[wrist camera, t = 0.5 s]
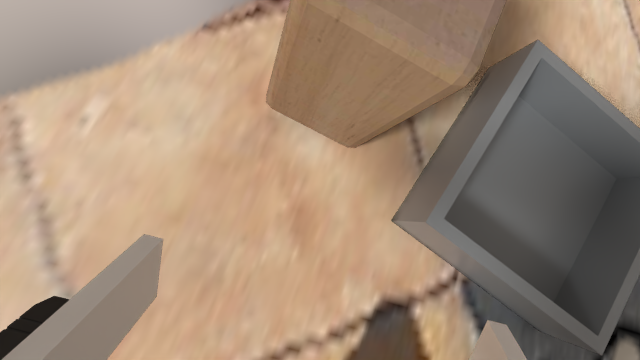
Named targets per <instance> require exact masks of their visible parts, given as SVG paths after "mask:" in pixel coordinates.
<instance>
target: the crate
mask: <svg viewBox="0 0 640 360" xmlns="http://www.w3.org/2000/svg"><path fill="white" fill-rule="evenodd" d="M391 221H392V222H394V223H395V224H396V225H398V226H399V227H400V228H402V229H403V230H404V231H406V232H407V233H408V234H410V235H411V236H412V237H414V238H415V239H416V240H418V241H419V242H420V243H422V244H423V245H424V246H426V247H427V248H429V249H430V250H431V251H433V252H434V253H435V254H437V255H438V256H439V257H441V258H442V259H443V260H445V261H446V262H447V263H449V264H450V265H451V266H453V267H454V268H455V269H457V270H458V271H459V272H461V273H462V274H463V275H465V276H466V277H467V278H469V279H470V280H471V281H473V282H474V283H476V284H477V285H478V286H480V287H481V288H482V289H484V290H485V291H486V292H488V293H489V294H490V295H492V296H493V297H494V298H496V299H497V300H498V301H500V302H501V303H502V304H504V305H505V306H506V307H508V308H509V309H510V310H512V311H513V312H514V313H516V314H517V315H518V316H520V317H521V318H522V319H524V320H525V321H527V322H528V323H529V324H531V325H532V326H533V327H535V328H536V329H537V330H539V331H540V332H543V333H545V334H548V335H550V336H553V337H556V338H558V339H561V340H563V341H566V342H568V343H571V344H574V345H576V346H579V347H581V348H584V349H586V350H589V351H592V352H594V353H597V354H599V355H602V354H603V352H604V350H605V348H606V346H607V344H608V342H609V339H610V337H611V335H612V333H613V331H614V329H615V326H616V324H617V322H618V320H619V318H620V316H621V314H622V311H623V309H624V307H625V305H626V303H627V301H628V299H629V296H630V294H631V292H632V290H633V288H634V286H635V284H636V281H637V279H638V277H639V275H640V128H638V127H637V126H636V125H635V124H634V123H633V122H632V121H630V120H629V119H628V118H627V117H626V116H625V115H624V114H622V113H621V112H620V111H619V110H618V109H617V108H616V107H614V106H613V105H612V104H611V103H610V102H609V101H608V100H606V99H605V98H604V97H603V96H602V95H601V94H600V93H598V92H597V91H596V90H595V89H594V88H593V87H592V86H590V85H589V84H588V83H587V82H586V81H585V80H584V79H583V78H581V77H580V76H579V75H578V74H577V73H576V72H575V71H573V70H572V69H571V68H570V67H569V66H568V65H567V64H565V63H564V62H563V61H562V60H561V59H560V58H559V57H557V56H556V55H555V54H554V53H553V52H552V51H551V50H549V49H548V48H547V47H546V46H545V45H544V44H543V43H541V42H540V41H539V40H536V41H535V42H533V43H531V44H529V45H528V46H526V47H524V48H523V49H521V50H519V51H517V52H516V53H514V54H512V55H510V56H509V57H507V58H505V59H503V60H502V61H500V62H498V63H497V64H495V65H493V66H491V67H490V68H488V70H487V71H486V73H485V75H484V76H483V78H482V79H481V81H480V82H479V84H478V85H477V87H476V89H475V90H474V92H473V93H472V95H471V96H470V98H469V100H468V101H467V103H466V104H465V106H464V107H463V109H462V111H461V112H460V114H459V115H458V117H457V118H456V120H455V121H454V123H453V125H452V126H451V128H450V129H449V131H448V132H447V134H446V136H445V137H444V139H443V140H442V142H441V143H440V145H439V147H438V148H437V150H436V151H435V153H434V154H433V156H432V157H431V159H430V161H429V162H428V164H427V165H426V167H425V168H424V170H423V172H422V173H421V175H420V176H419V178H418V179H417V181H416V183H415V184H414V186H413V187H412V189H411V190H410V192H409V194H408V195H407V197H406V198H405V200H404V201H403V203H402V204H401V206H400V208H399V209H398V211H397V212H396V214H395V215H394V217H393V219H392V220H391Z"/></svg>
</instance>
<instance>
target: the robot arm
mask: <svg viewBox="0 0 640 360" xmlns="http://www.w3.org/2000/svg"><path fill="white" fill-rule="evenodd" d="M162 245H163V239H162V238H158V237H154V236H150V235H146V234H144V235H143V236H141V237H140V238H139V239H138V240H137V241H136V242H135V243H133V244H132V245H131V246H130V247H129V248H128V249H127V250H126V251H124V252H123V253H122V254H121V255H120V256H119V257H118V258H116V259H115V260H114V261H113V262H112V263H111V264H110V265H108V266H107V267H106V268H105V269H104V270H103V271H102V272H101V273H99V274H98V275H97V276H96V277H95V278H94V279H93V280H91V281H90V282H89V283H88V284H87V285H86V286H85V287H83V288H82V289H81V290H80V291H79V292H78V293H77V294H76V295H74V296H73V297H72V298H71V299H70V300H69V299H65V298H61V297H57V296H53V297H51V298H49V299H46V300H44V301H42V302H40V303H38V304H35V305H34V306H33V307H31V308H30V309H29V310H28V311H26V312H25V313H24V314H23V315H21V316H20V318H19V319H16V320H15V321H14V322H13V323H11V324H10V325H9V326H8V327H7V329H6V330H5V329H4V330H3V331H1V332H0V360H107V359H108V357H109V356H110V355H111V354H112V352H113V351H114V350H115V348H116V347H117V346H118V345H119V343H120V342H121V341H122V340H123V338H124V337H125V336H126V335H127V333H128V332H129V331H130V330H131V328H132V327H133V326H134V324H135V323H136V322H137V321H138V319H139V318H140V317H141V316H142V314H143V313H144V312H145V311H146V309H147V308H148V307H149V306H150V304H151V303H152V302H153V300H154V299H155V298H156V297H157V288H158V280H159V271H160V262H161V254H162ZM469 360H527V359H526V357H525V355H524V354H523V352H522V350H521V349H520V347H519V345H518V343H517V342H516V340H515V338H514V337H513V335H512V333H511V332H510V330H509V328H508V326H507V325H506V324H502V323H498V322H494V321H490V320H487V323H486V325H485V327H484V329H483V331H482V333H481V335H480V337H479V339H478V342H477V344H476V346H475V348H474V350H473V352H472V354H471V356H470V358H469Z"/></svg>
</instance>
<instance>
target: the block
mask: <svg viewBox="0 0 640 360" xmlns="http://www.w3.org/2000/svg"><path fill="white" fill-rule="evenodd" d="M505 3H506V0H290V4H289V7H288V11H287V15H286V19H285V23H284V27H283V31H282V35H281V39H280V43H279V47H278V51H277V55H276V59H275V63H274V67H273V71H272V75H271V79H270V83H269V87H268V91H267V97H266V102H267V103H268V105H269V106H270V107H271V108H272V109H274V110H276V111H278V112H280V113H282V114H284V115H286V116H288V117H290V118H292V119H293V120H295V121H297V122H299V123H301V124H303V125H305V126H307V127H309V128H311V129H313V130H315V131H317V132H319V133H321V134H323V135H325V136H327V137H328V138H330V139H332V140H334V141H336V142H338V143H340V144H342V145H344V146H346V147H351V148H356V147H357V146H359V145H361V144H363V143H365V142H366V141H368V140H370V139H372V138H374V137H375V136H377V135H379V134H381V133H383V132H384V131H386V130H388V129H390V128H392V127H393V126H395V125H397V124H399V123H401V122H402V121H404V120H406V119H408V118H410V117H411V116H413V115H415V114H417V113H419V112H420V111H422V110H424V109H426V108H428V107H429V106H431V105H433V104H435V103H437V102H438V101H440V100H442V99H444V98H445V97H447V96H449V95H451V94H453V93H454V92H456V91H458V90H460V89H462V88H463V87H465V86H466V85H467V84H468V83H469V82H470V81H472V80H473V79H474V78H475V76H476V74H477V72H478V70H479V68H480V65H481V63H482V60H483V58H484V55H485V53H486V50H487V48H488V45H489V43H490V40H491V38H492V35H493V33H494V30H495V28H496V25H497V23H498V20H499V18H500V15H501V13H502V10H503V8H504V5H505Z"/></svg>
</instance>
